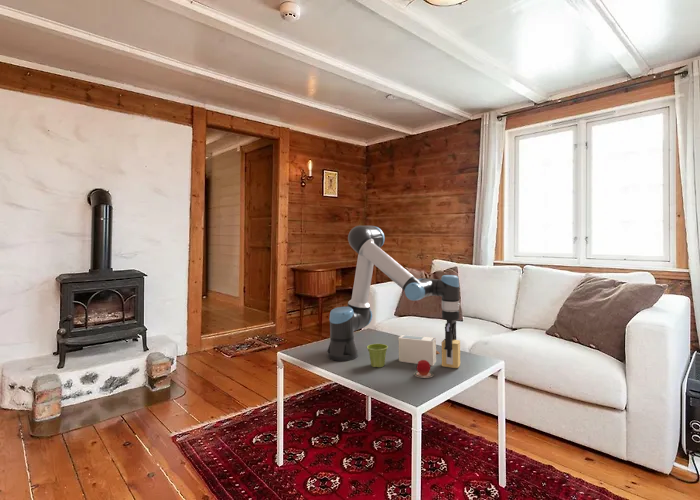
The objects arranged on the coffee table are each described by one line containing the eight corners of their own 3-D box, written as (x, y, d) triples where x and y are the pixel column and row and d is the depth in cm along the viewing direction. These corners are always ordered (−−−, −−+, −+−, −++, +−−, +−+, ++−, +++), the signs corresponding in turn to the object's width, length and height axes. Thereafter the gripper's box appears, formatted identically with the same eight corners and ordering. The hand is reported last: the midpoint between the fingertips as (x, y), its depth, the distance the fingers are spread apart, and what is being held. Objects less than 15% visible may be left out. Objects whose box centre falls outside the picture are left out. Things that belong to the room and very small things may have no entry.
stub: (441, 366, 166) (441, 341, 166) (444, 362, 171) (444, 338, 171) (458, 368, 163) (457, 343, 162) (460, 363, 168) (460, 340, 168)
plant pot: (374, 370, 163) (373, 350, 163) (363, 364, 172) (363, 345, 171) (392, 366, 168) (391, 347, 167) (381, 360, 176) (380, 342, 176)
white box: (398, 361, 175) (398, 337, 174) (402, 357, 180) (402, 334, 180) (433, 365, 168) (432, 341, 167) (436, 361, 173) (435, 337, 173)
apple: (421, 380, 151) (420, 364, 151) (410, 373, 159) (410, 358, 158) (437, 376, 155) (437, 361, 154) (426, 370, 162) (425, 355, 162)
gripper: (455, 314, 156) (455, 369, 157) (462, 306, 173) (463, 356, 174) (437, 313, 159) (437, 367, 160) (446, 305, 176) (446, 354, 177)
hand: (451, 361), depth 167 cm, fingers closed on stub, 6 cm apart
